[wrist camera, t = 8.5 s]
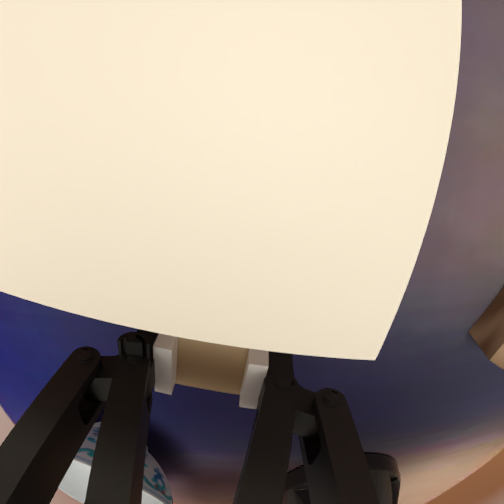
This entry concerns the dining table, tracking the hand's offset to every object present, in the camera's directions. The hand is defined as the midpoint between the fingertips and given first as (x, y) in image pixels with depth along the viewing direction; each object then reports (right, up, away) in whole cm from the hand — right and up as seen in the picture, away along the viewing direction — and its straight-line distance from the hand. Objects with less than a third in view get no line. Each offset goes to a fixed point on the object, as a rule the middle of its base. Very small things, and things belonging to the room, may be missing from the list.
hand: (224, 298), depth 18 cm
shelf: (-2, +13, -3) cm, 13 cm away
